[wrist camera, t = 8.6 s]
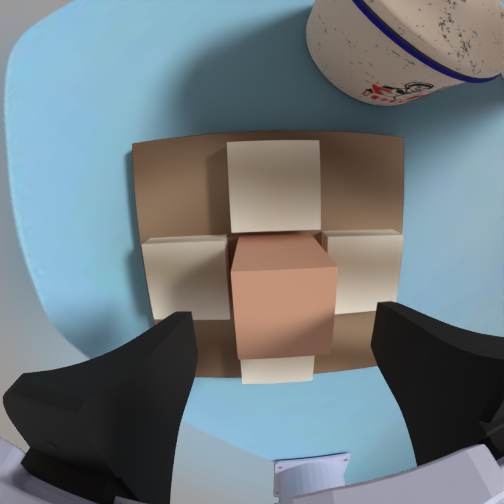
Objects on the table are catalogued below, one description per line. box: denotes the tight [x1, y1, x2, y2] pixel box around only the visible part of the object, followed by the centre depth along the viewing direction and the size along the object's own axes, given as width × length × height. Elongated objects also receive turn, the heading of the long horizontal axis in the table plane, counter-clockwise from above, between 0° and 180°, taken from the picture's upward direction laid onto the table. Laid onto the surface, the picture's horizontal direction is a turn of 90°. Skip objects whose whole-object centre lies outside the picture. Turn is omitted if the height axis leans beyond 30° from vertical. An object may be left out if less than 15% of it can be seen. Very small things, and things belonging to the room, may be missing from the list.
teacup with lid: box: [306, 0, 504, 106], centre depth 8 cm, size 12×9×12 cm
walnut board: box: [132, 130, 404, 384], centre depth 17 cm, size 16×16×2 cm
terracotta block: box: [231, 233, 338, 359], centre depth 14 cm, size 4×4×6 cm
